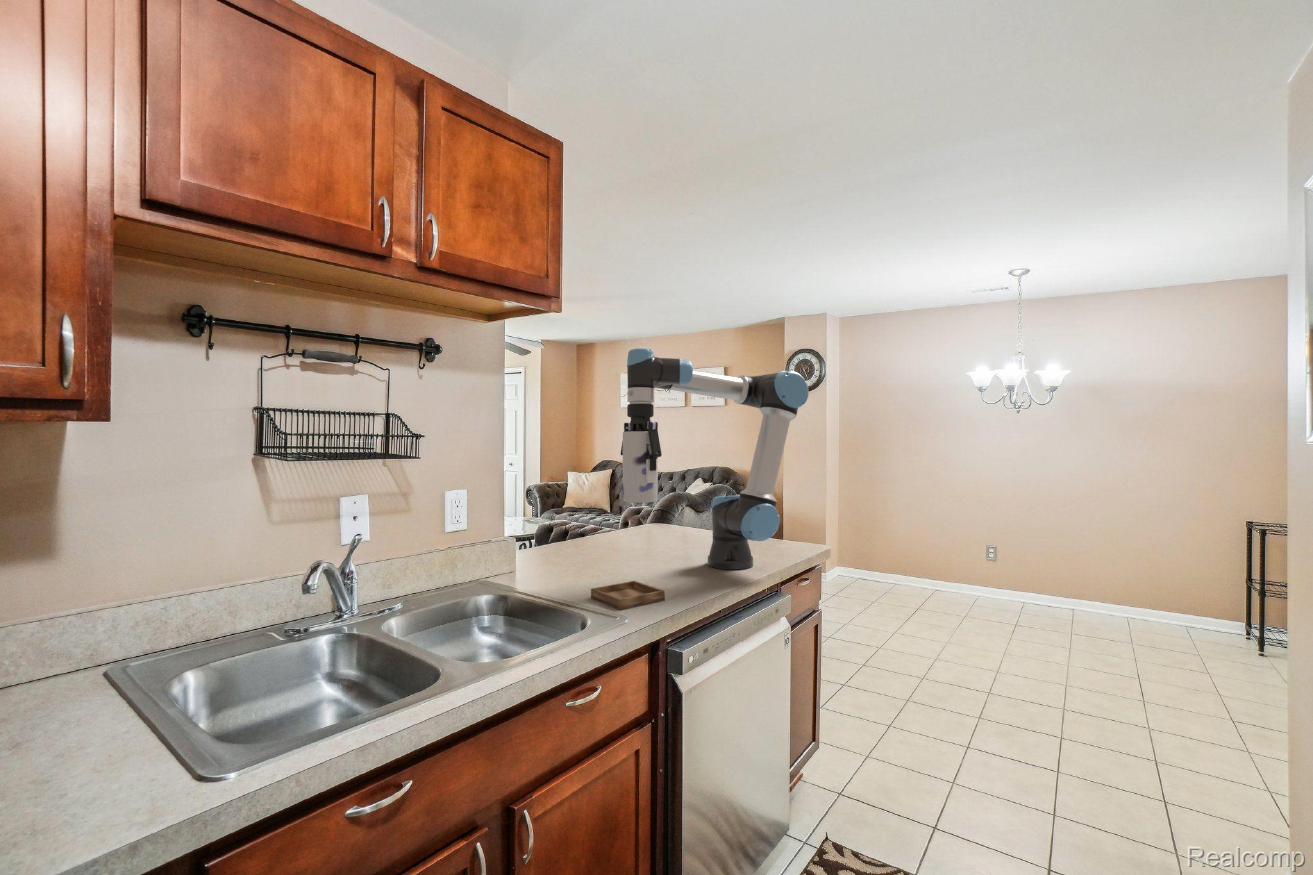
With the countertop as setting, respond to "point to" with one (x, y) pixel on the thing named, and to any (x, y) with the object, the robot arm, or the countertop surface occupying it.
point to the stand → (627, 594)
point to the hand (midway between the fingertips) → (640, 481)
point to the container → (637, 469)
